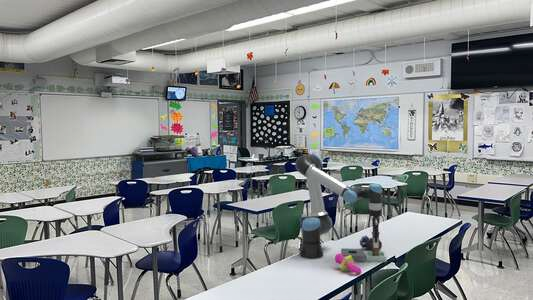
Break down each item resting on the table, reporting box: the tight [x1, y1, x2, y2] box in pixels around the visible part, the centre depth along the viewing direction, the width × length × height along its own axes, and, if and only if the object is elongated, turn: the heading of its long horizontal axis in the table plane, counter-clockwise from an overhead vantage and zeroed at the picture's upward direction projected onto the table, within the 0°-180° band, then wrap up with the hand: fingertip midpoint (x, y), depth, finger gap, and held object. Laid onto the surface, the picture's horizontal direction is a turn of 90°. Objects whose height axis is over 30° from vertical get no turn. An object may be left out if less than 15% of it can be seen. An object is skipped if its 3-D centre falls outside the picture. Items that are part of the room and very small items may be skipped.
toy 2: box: [359, 235, 383, 251], centre depth 276 cm, size 9×9×15 cm
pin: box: [371, 230, 380, 256], centre depth 258 cm, size 5×5×15 cm
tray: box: [364, 250, 388, 263], centre depth 259 cm, size 12×10×3 cm
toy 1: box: [334, 252, 362, 274], centre depth 240 cm, size 10×18×10 cm, turn 42°
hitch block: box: [340, 247, 366, 263], centre depth 261 cm, size 14×14×4 cm
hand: (375, 246), depth 258 cm, fingers closed on pin, 4 cm apart
